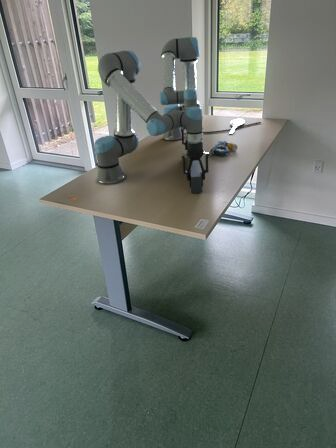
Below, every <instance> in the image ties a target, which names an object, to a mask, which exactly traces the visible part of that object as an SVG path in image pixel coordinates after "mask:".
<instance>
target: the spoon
mask: <svg viewBox="0 0 336 448" xmlns="http://www.w3.org/2000/svg"><path fill="white" fill-rule="evenodd" d="M243 124H244V125H245V119H243V118H234V119H232V120H231V121H230V125H231V126H232V128H230V129H231V130H229V133H228V134H229V135H234V133H235V131H236V129H235V128H237V127H241V126H243Z"/></svg>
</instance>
